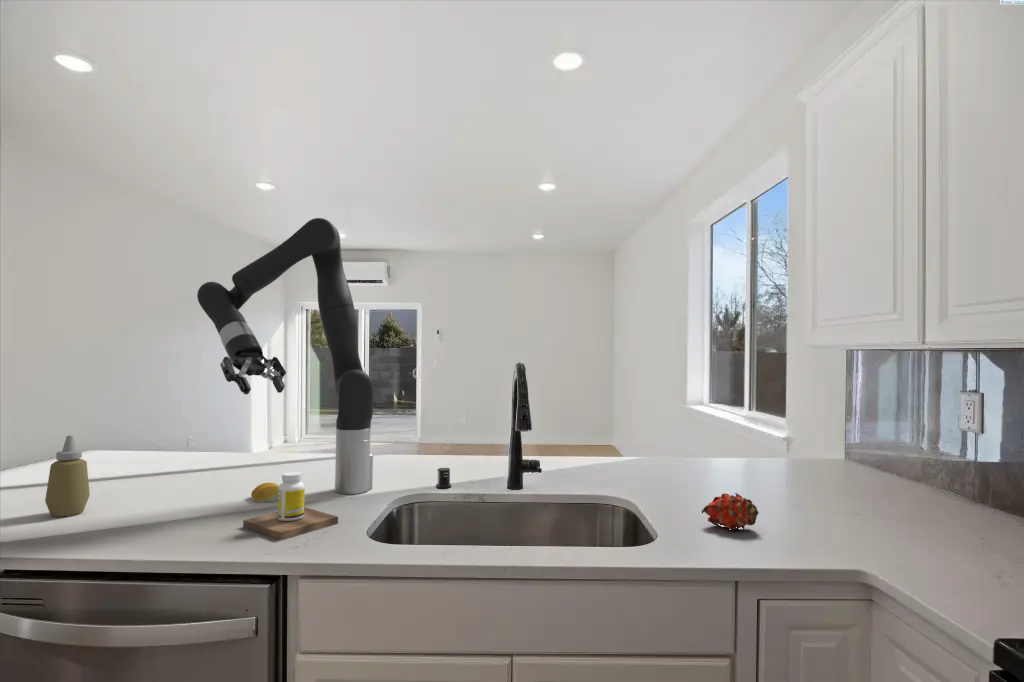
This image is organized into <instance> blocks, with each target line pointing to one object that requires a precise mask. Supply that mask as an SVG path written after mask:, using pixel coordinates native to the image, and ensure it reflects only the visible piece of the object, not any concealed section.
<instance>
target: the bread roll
mask: <svg viewBox="0 0 1024 682" xmlns="http://www.w3.org/2000/svg"><path fill="white" fill-rule="evenodd" d="M279 485H280V484H278V483H275V482H263V483H260V484H259V485H257V486H256V487H255V488H254V489H253V490H252V491H251V494H250V496H251V498H252V499H253V501H254V502H256V501H257V502H256V503H260V502H266V503H274V502H273V501H276V502H278V488H279Z"/></svg>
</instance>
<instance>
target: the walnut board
mask: <svg viewBox="0 0 1024 682" xmlns="http://www.w3.org/2000/svg"><path fill="white" fill-rule="evenodd" d="M338 523H339V516H338V515H333V514H331V513H326V512H322V511H319V510H316V509H312V508H309V507H305V506H304V516H303V518H301V519H299V520H295V521H281V520H279V519H278V511H274V512H272V513H267V514H262V515H259V516H255V517H250V518H246V519H244V520H243V521H242V524H243V528H244V527H246V528H245V529H247V528H249V529H248V530H250V529H251V531H253V530H254V532H256V533H258V532H260V533H259V534H261V533H262V535H264V534H265V535H264V536H267V535H268V537H270V536H271V537H270V538H273V537H274V539H275V538H276V540H278V539H279V541H283V540H287V539H289V538H293V537H296V535H297V536H300V535H304V534H306V533H310V532H314V531H316V530H321V529H324V528H328V527H330V526H334V525H337V524H338ZM292 536H293V537H292ZM286 538H287V539H286Z"/></svg>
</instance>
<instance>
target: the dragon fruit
mask: <svg viewBox="0 0 1024 682" xmlns="http://www.w3.org/2000/svg"><path fill="white" fill-rule="evenodd" d="M734 495H735V496H734ZM734 495H733V494H732V495H730V494H728V493H721V496H714V498H713V499H712V501H711V502H709V503H708V504H707V505H705V506H704V508H702V510H701V514H703V513H704V514H706V515H707V516H709V517H707V522H708V523H711V524H714V525H713V526H716V525H718V524H720V525H724V526H728V527H727V529H728V528H729V529H735V530H737V529H736V527H737V528H740V527H742V528H744V529H745V526H746V525H747V526H754V525H755V524H756V520H757V517H758V515H759V514H760V512H759V510H758V508H757V506H756V505H755V504H754V503H753V501H752V500H751V499H748V498H746V497H743V496H741V495H740V494H739V493H737V492H735V493H734ZM733 527H734V528H733Z"/></svg>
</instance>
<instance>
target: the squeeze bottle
mask: <svg viewBox="0 0 1024 682" xmlns="http://www.w3.org/2000/svg"><path fill="white" fill-rule="evenodd" d="M55 456H56V457H55V458H56V460H57V461H54V462H53V463H51V464H50V468H49V475H48V479H47V480H48V481H47V487H46V493H45V500H44V502H45V505H46V507H47V510H48V512H49V514H50V516H51V517H56V518H62V517H64V516H65V517H71V515H72V516H76V515H79V514H82V513H83V512H84V510H85V508H86V507H87V503H88V500H89V498H90V495H91V494H90V481H89V471H88V463H87V460H85V459H84V458H82V457H83V450H81V449H80V450H79V449H77V446H76V441H75V439H74V435H67V436H66V437H65V440H64V444H63V447H62V450H61V451H57V452H56V455H55Z"/></svg>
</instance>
